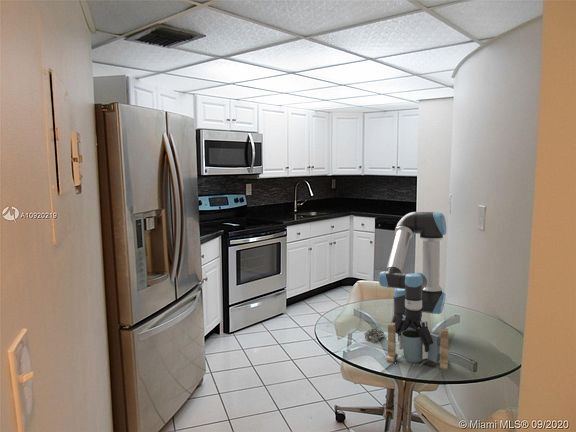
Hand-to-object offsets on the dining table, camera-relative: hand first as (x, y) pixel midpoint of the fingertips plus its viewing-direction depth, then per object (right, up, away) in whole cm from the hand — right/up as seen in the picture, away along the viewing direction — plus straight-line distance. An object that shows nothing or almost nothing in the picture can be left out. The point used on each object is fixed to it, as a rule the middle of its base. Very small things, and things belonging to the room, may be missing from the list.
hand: (413, 353), depth 201 cm
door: (+5, -2, +3) cm, 7 cm away
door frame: (+2, -3, -1) cm, 3 cm away
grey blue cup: (+1, -2, 0) cm, 3 cm away
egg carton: (-12, -1, +28) cm, 31 cm away
